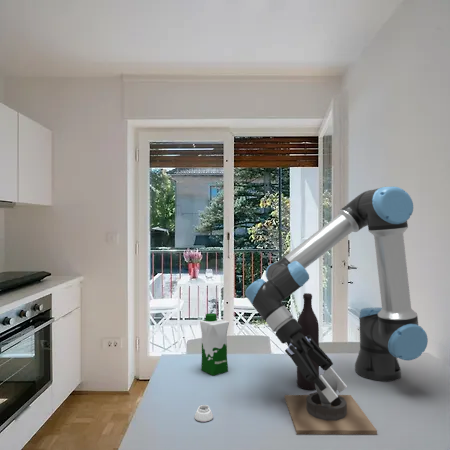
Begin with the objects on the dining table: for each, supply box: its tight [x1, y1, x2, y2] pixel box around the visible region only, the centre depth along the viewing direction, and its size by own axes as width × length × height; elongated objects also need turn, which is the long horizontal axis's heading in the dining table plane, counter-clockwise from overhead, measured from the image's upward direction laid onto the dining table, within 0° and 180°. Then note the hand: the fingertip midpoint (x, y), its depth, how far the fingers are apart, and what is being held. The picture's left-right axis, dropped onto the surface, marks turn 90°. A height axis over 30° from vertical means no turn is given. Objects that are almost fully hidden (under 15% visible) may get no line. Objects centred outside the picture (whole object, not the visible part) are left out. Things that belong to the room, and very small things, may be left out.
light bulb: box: [315, 373, 338, 407], centre depth 103 cm, size 6×6×10 cm
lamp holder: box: [284, 391, 378, 435], centre depth 103 cm, size 20×20×4 cm
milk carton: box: [199, 312, 230, 377], centre depth 136 cm, size 9×9×20 cm
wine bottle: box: [296, 292, 320, 391], centre depth 122 cm, size 7×7×30 cm
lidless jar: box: [194, 404, 214, 423], centre depth 102 cm, size 5×3×5 cm
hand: (338, 394), depth 101 cm, fingers open, 7 cm apart
